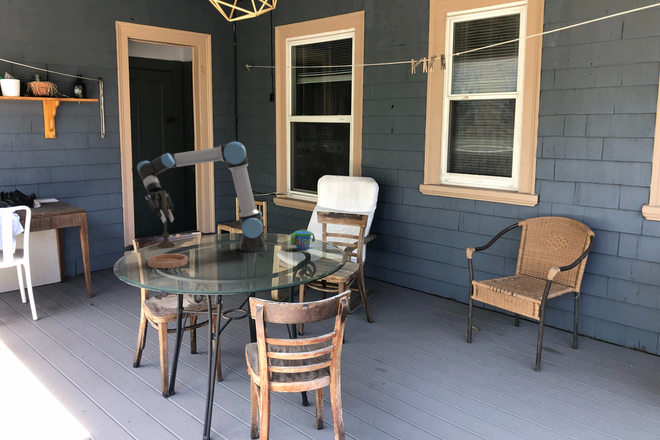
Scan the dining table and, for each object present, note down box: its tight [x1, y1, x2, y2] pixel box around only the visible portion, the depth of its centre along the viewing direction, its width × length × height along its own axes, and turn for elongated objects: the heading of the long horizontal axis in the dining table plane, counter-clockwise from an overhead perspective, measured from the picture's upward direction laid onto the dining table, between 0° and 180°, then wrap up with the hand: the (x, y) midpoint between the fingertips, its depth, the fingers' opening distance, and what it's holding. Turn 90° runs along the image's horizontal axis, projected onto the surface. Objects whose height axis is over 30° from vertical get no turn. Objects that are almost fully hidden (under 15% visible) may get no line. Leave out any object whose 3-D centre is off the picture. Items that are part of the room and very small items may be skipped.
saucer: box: [147, 253, 188, 270], centre depth 279 cm, size 20×20×3 cm
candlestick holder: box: [156, 190, 176, 249], centre depth 275 cm, size 9×9×30 cm
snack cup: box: [290, 230, 316, 250], centre depth 316 cm, size 16×10×10 cm
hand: (168, 220), depth 272 cm, fingers closed on candlestick holder, 4 cm apart
